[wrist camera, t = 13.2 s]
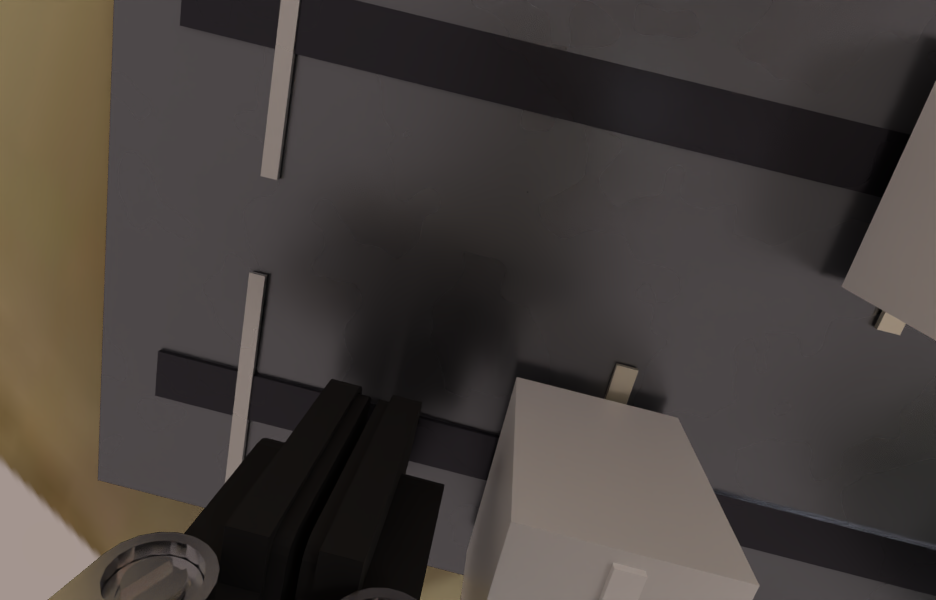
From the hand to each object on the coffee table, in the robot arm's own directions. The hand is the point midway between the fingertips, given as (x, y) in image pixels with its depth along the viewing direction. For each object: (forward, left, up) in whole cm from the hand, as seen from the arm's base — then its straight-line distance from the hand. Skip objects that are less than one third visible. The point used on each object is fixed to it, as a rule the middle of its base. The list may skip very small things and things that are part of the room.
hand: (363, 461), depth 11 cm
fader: (0, +4, -1) cm, 4 cm away
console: (-3, +4, -3) cm, 6 cm away
